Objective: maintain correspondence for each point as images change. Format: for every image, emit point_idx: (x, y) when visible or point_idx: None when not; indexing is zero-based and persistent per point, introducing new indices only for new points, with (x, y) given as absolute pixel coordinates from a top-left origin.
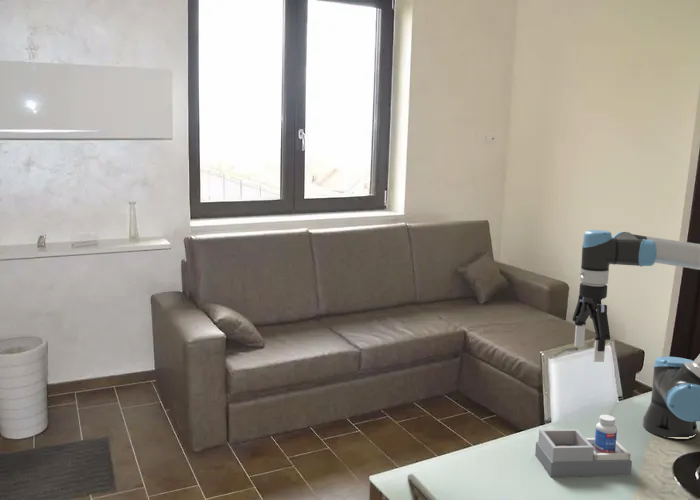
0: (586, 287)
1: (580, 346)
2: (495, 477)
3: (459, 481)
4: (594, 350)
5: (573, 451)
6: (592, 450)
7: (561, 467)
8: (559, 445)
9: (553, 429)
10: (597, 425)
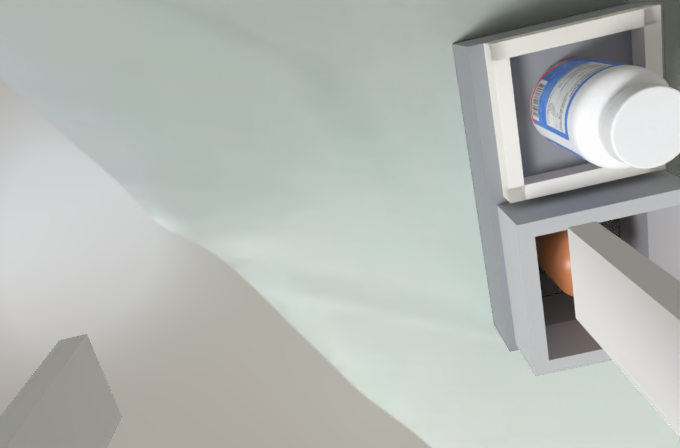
0: None
1: (101, 370)
2: (645, 440)
3: None
4: (643, 386)
5: None
6: None
7: None
8: (557, 280)
9: (528, 322)
10: (625, 167)
